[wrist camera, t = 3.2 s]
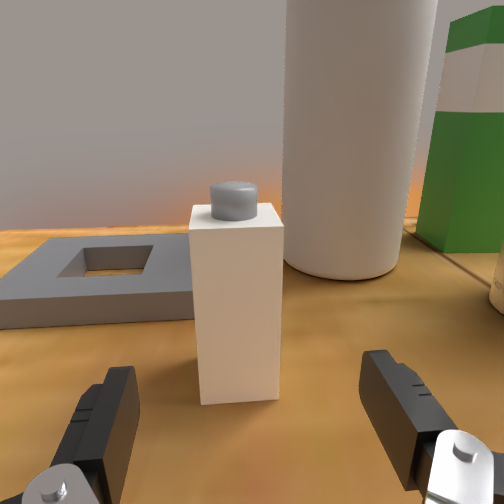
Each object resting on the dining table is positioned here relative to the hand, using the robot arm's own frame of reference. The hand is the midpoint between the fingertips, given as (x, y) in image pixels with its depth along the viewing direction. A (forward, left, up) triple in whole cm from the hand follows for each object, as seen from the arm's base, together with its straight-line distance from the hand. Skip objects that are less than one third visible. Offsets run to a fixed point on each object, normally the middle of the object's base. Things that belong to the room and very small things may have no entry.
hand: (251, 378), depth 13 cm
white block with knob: (0, -9, -7) cm, 11 cm away
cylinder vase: (-12, -27, -7) cm, 30 cm away
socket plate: (+11, -23, -7) cm, 26 cm away
